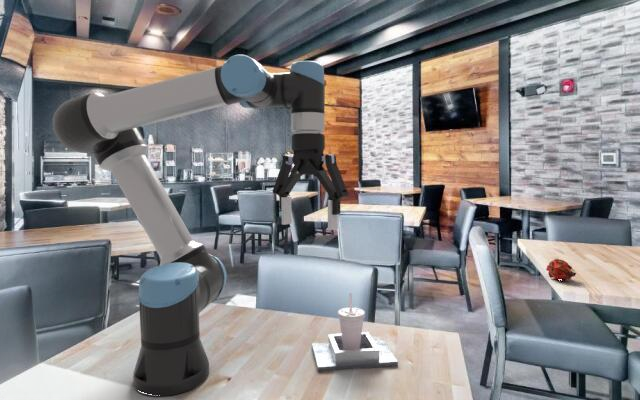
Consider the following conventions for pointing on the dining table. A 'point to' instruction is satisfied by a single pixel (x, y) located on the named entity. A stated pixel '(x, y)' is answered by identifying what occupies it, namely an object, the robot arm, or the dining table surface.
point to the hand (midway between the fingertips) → (308, 226)
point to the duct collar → (352, 354)
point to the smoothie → (351, 326)
